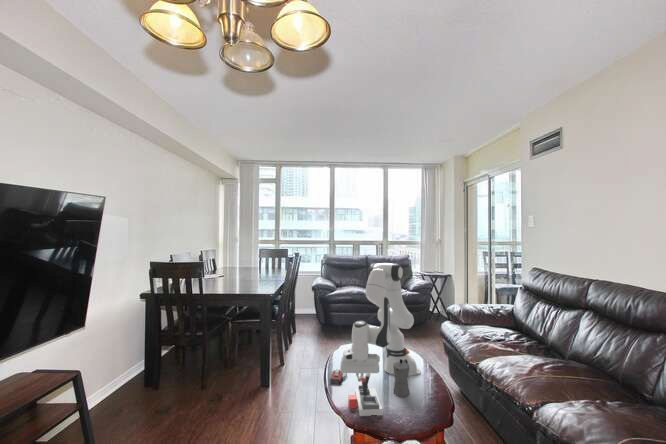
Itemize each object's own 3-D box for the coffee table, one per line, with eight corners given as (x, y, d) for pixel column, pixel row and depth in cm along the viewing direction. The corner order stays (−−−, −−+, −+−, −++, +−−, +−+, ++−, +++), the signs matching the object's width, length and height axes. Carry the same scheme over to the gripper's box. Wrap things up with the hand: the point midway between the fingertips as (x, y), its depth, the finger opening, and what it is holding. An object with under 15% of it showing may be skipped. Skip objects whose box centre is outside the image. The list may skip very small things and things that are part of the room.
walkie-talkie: (344, 386, 171) (348, 370, 191) (344, 378, 171) (348, 363, 191) (329, 385, 173) (334, 369, 192) (329, 377, 173) (334, 362, 193)
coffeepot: (405, 401, 156) (405, 366, 156) (388, 395, 161) (388, 361, 161) (415, 388, 168) (414, 356, 169) (399, 383, 174) (398, 352, 174)
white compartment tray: (374, 393, 162) (374, 384, 163) (382, 415, 143) (382, 404, 144) (355, 394, 162) (354, 385, 162) (359, 416, 143) (359, 405, 143)
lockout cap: (356, 403, 153) (355, 394, 153) (357, 408, 149) (356, 399, 149) (348, 403, 153) (348, 395, 153) (349, 408, 149) (349, 399, 149)
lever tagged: (366, 394, 155) (364, 375, 155) (367, 397, 152) (364, 378, 153) (363, 395, 155) (360, 376, 155) (364, 397, 152) (361, 378, 153)
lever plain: (365, 389, 161) (369, 371, 161) (366, 391, 158) (370, 373, 159) (362, 388, 161) (366, 370, 161) (362, 390, 158) (367, 372, 159)
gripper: (378, 351, 158) (378, 378, 157) (340, 351, 157) (339, 378, 157) (380, 356, 152) (380, 384, 151) (341, 355, 151) (340, 383, 150)
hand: (359, 381), depth 154 cm, fingers closed
